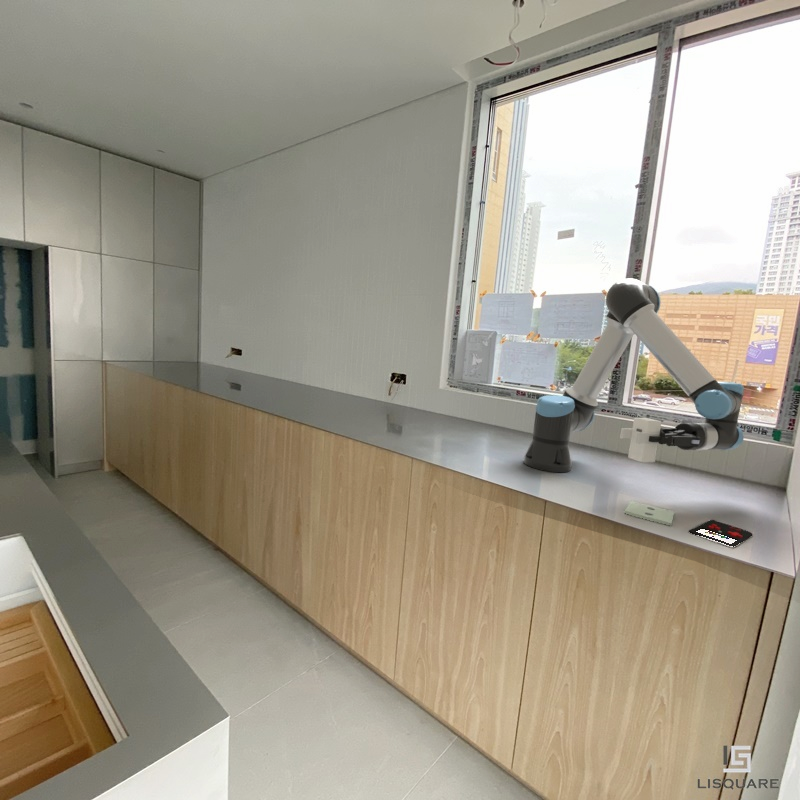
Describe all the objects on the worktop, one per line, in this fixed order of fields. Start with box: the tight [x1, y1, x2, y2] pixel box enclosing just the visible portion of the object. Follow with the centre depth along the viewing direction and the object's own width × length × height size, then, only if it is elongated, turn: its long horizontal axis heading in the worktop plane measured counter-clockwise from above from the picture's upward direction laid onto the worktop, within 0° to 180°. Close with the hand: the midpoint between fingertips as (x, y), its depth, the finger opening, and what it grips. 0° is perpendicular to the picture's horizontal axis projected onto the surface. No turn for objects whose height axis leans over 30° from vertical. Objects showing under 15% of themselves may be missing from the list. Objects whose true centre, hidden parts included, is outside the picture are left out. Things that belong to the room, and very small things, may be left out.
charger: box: [627, 417, 662, 463], centre depth 119 cm, size 4×5×11 cm
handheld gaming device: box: [688, 519, 753, 547], centre depth 104 cm, size 9×1×15 cm
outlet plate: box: [624, 500, 675, 527], centre depth 113 cm, size 10×10×1 cm
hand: (629, 435), depth 117 cm, fingers closed on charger, 4 cm apart
